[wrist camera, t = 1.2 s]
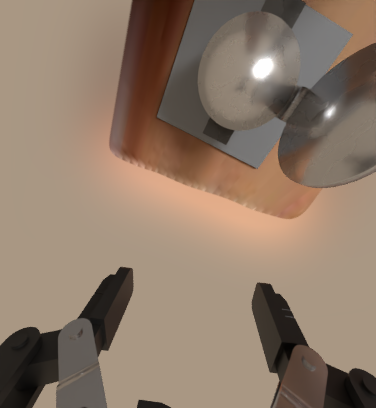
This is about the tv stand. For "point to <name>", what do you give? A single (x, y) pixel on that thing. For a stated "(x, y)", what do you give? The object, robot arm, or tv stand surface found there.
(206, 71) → the pot
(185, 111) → the mat
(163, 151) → the tv stand surface
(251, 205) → the tv stand surface
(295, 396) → the robot arm
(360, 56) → the lid
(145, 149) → the tv stand surface
